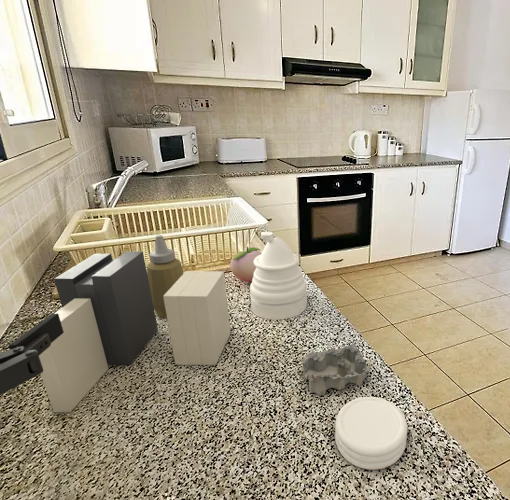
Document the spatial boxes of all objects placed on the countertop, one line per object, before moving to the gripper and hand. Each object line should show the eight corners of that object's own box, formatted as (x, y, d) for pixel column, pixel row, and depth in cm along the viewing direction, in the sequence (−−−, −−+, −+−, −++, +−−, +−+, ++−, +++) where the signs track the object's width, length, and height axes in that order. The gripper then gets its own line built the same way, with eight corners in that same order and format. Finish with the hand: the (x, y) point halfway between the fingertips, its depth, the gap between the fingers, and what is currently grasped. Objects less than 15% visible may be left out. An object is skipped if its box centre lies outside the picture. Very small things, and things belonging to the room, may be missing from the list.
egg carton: (309, 399, 60) (309, 379, 58) (299, 369, 67) (299, 350, 65) (371, 384, 63) (372, 365, 62) (355, 358, 70) (356, 339, 68)
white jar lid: (364, 486, 46) (365, 466, 45) (321, 432, 54) (321, 413, 53) (420, 447, 52) (423, 428, 51) (375, 403, 59) (376, 385, 58)
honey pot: (257, 324, 80) (251, 245, 73) (246, 297, 90) (240, 227, 84) (314, 313, 85) (313, 238, 78) (298, 288, 95) (296, 221, 89)
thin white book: (53, 412, 56) (26, 333, 51) (94, 368, 65) (74, 298, 60) (70, 412, 56) (45, 333, 51) (108, 368, 66) (90, 298, 60)
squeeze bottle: (143, 316, 82) (127, 239, 75) (172, 299, 89) (160, 227, 82) (171, 324, 79) (157, 245, 72) (199, 307, 86) (188, 233, 79)
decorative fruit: (253, 292, 93) (251, 255, 89) (226, 286, 96) (222, 250, 92) (274, 277, 101) (272, 243, 98) (248, 272, 104) (245, 238, 100)
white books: (175, 364, 67) (162, 296, 62) (195, 333, 76) (185, 270, 71) (215, 365, 67) (206, 296, 62) (230, 333, 76) (224, 271, 71)
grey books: (78, 364, 66) (52, 275, 60) (113, 330, 77) (94, 250, 70) (130, 364, 67) (109, 276, 60) (158, 330, 77) (143, 251, 70)
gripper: (-414, 531, 27) (-95, 351, 46) (-47, 518, 28) (111, 348, 48) (-496, 452, 24) (-121, 297, 44) (-87, 442, 25) (98, 295, 45)
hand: (0, 323), depth 46 cm, fingers open, 13 cm apart
